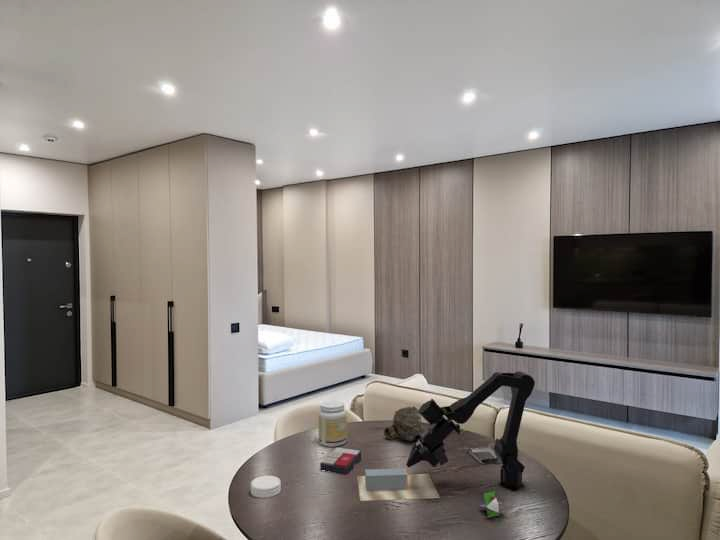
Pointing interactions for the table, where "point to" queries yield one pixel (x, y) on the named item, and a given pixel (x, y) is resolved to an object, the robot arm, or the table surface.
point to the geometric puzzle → (491, 504)
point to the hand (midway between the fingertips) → (407, 466)
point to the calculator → (341, 460)
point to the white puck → (265, 486)
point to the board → (417, 489)
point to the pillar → (386, 479)
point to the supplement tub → (332, 424)
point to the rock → (405, 424)
